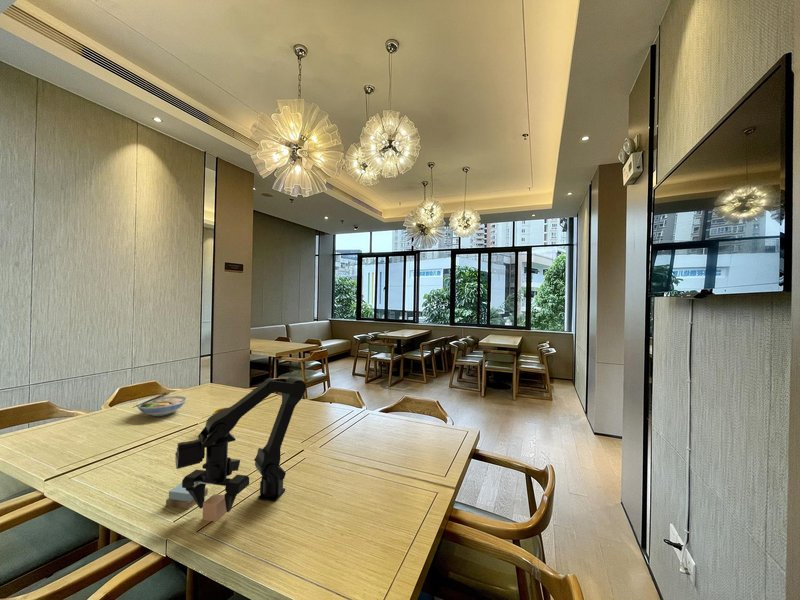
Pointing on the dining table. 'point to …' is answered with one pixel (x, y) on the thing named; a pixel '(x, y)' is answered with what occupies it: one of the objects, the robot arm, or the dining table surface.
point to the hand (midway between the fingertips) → (215, 509)
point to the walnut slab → (182, 502)
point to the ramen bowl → (161, 404)
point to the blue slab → (180, 494)
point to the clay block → (214, 507)
